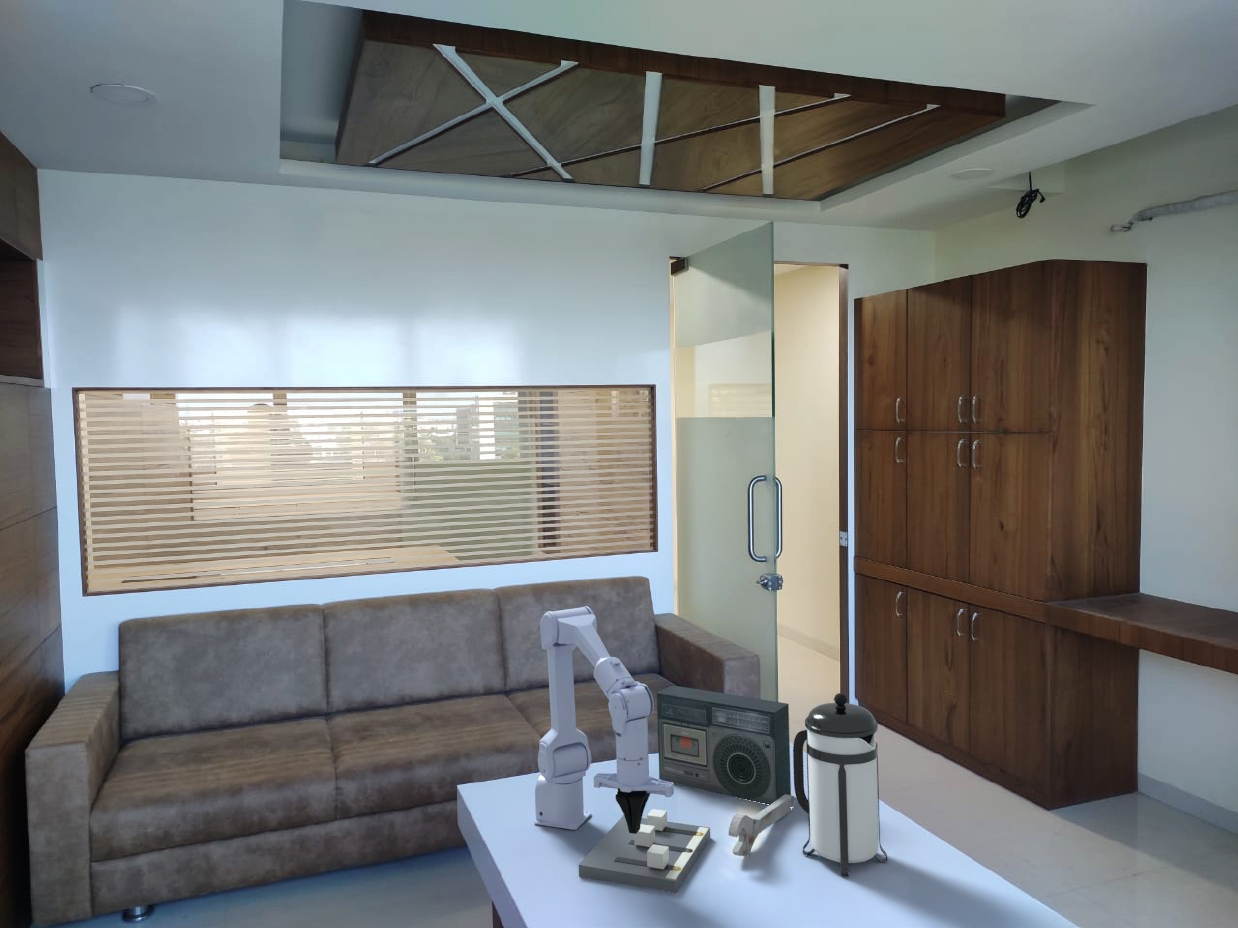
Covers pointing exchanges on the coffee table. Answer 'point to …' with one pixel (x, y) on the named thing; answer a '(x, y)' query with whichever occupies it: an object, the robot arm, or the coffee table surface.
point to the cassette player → (724, 743)
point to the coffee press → (840, 782)
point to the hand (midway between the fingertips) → (634, 830)
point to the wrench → (757, 823)
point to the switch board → (645, 856)
